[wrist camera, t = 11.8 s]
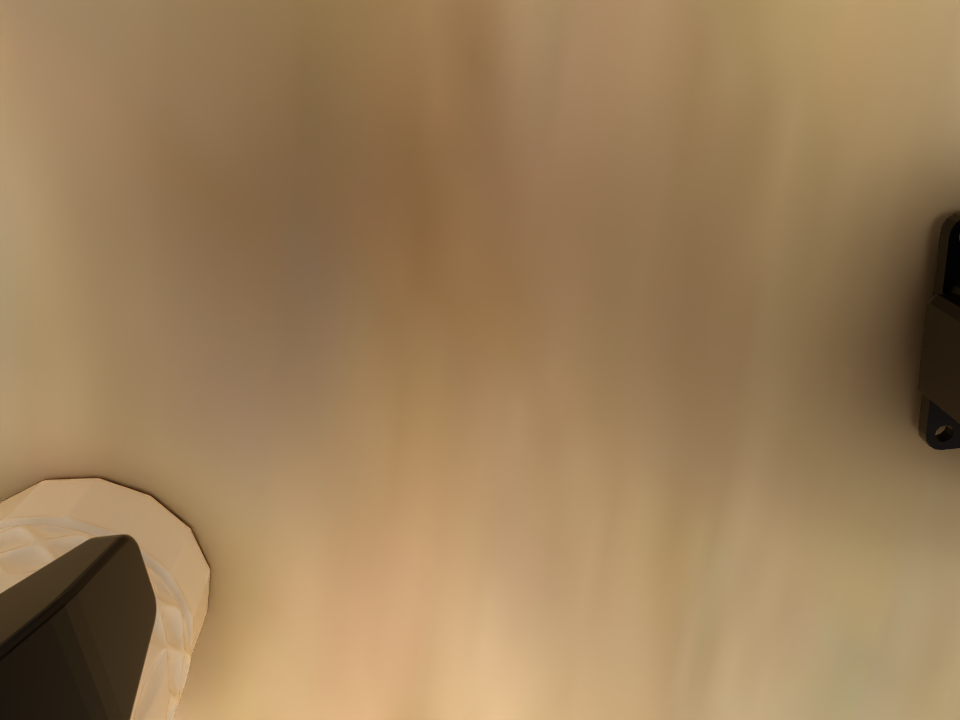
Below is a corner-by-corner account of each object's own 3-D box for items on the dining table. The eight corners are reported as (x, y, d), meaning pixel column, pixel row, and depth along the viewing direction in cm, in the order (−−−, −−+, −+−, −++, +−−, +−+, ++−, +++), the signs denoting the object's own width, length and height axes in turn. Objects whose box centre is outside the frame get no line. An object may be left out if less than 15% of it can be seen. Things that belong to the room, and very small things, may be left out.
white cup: (31, 405, 22) (-271, 681, 13) (282, 546, 24) (172, 873, 15) (-82, 597, 25) (-405, 944, 15) (155, 711, 27) (-7, 1080, 17)
